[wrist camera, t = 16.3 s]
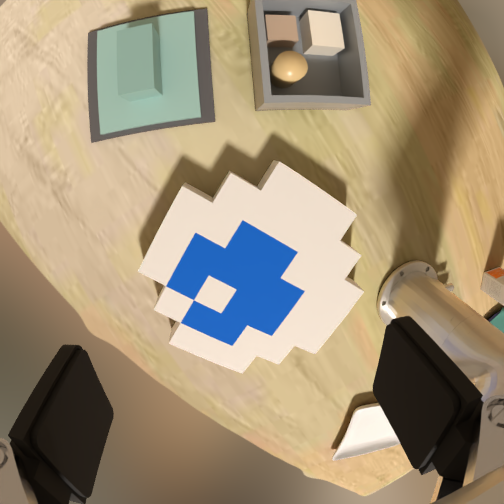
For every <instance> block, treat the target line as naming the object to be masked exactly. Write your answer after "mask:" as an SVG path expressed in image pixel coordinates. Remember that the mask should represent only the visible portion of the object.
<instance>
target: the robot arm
mask: <svg viewBox="0 0 504 504" xmlns="http://www.w3.org/2000/svg"><path fill="white" fill-rule="evenodd" d="M453 289H454V286H453V284H452V283H450V284H446V285H444V284H442V283H441V282H440V281H438V277H437V274H436V272H435V270H434V268H433V267H432V266H431V265H429V264H428V263H426V262H423V261H418V260H415V261H410V262H407V263H405V264H403V265H401V266H400V267H398V268H397V269H396V270H395V271H393V272H392V274H391V275H390V276H389V277H388V278H387V280H386V281H385V283H384V284H383V286H382V288H381V290H380V293H379V296H378V301H377V310H378V315H379V317H380V319H381V320H382V321H383V322H384V324H386V325H387V326H386V330H385V335H384V340H383V345H382V350H381V354H380V359H379V363H378V367H377V371H376V375H375V379H374V383H373V393H374V396H375V397H376V399H377V401H378V403H379V405H380V406H381V408H382V410H383V412H384V414H385V416H386V417H387V419H388V421H389V423H390V425H391V427H392V429H393V430H394V432H395V434H396V436H397V438H398V440H399V442H400V444H401V445H402V447H403V449H404V451H405V453H406V455H407V457H408V459H409V461H410V463H411V465H412V466H413V468H415V469H419V471H420V473H421V475H423V474H425V473H428V472H430V471H432V470H434V469H436V470H437V472H438V474H439V476H438V480H437V483H436V486H435V490H434V493H433V496H432V499H431V502H430V504H504V333H503V332H502V331H500V330H499V329H498V328H496V327H495V326H494V325H492V324H491V323H490V322H489V321H487V320H486V319H485V318H484V317H483V316H481V315H480V314H479V313H477V312H476V311H475V310H474V309H472V308H471V307H470V306H468V305H467V304H466V303H465V302H463V301H462V300H461V299H459V298H458V297H457V296H456V295H455V294H454V293H452V292H450V291H453ZM473 383H475V385H474V384H473ZM112 420H113V408H112V407H111V404H110V402H109V400H108V398H107V396H106V394H105V392H104V390H103V388H102V385H101V383H100V381H99V379H98V377H97V375H96V372H95V370H94V368H93V365H92V363H91V361H90V358H89V356H88V353H87V352H86V351H85V350H83V349H82V347H81V346H79V345H63V346H62V347H61V348H60V349H59V351H58V352H57V354H56V355H55V357H54V359H53V360H52V362H51V363H50V365H49V366H48V368H47V369H46V371H45V372H44V374H43V376H42V377H41V379H40V380H39V382H38V384H37V385H36V387H35V388H34V390H33V392H32V394H31V395H30V397H29V399H28V401H27V402H26V404H25V406H24V407H23V409H22V411H21V412H20V414H19V416H18V418H17V419H16V421H15V423H14V425H13V427H12V429H11V431H10V433H9V434H8V436H9V437H10V438H11V442H10V444H9V443H8V442H7V441H6V440H5V439H3V438H0V504H69V500H70V501H73V502H77V503H81V504H85V503H86V498H88V497H90V496H91V494H92V490H93V486H94V482H95V478H96V475H97V470H98V467H99V464H100V460H101V456H102V453H103V449H104V446H105V443H106V439H107V436H108V432H109V429H110V426H111V423H112Z"/></svg>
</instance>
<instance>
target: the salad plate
mask: <svg viewBox="0 0 504 504" xmlns="http://www.w3.org/2000/svg"><path fill="white" fill-rule="evenodd" d="M398 444H400V442H399V440H398V438H397V436H396V434H395V432H394V430H393V429H392V427H391V425H390V423H389V421H388V419H387V417H386V416H385V414H384V412H383V410H382V408H381V406H380V405H379V403H375V404H368V405H363V406H360V407H358V408H356V409H355V410H354V412H353V415H352V418H351V421H350V424H349V426H348V429H347V431H346V433H345V435H344V437H343V439H342V441H341V443H340V445H339V446H338V448H337V449H336V451H335V453H334V455H333V458H332V460H340V459H345V458H350V457H354V456H359V455H363V454H367V453H371V452H375V451H379V450H382V449H386V448H389V447H392V446H396V445H398Z"/></svg>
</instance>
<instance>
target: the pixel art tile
mask: <svg viewBox="0 0 504 504" xmlns="http://www.w3.org/2000/svg"><path fill="white" fill-rule="evenodd" d="M356 216H357V214H355V213H354V212H353V211H351V210H350V209H349V208H347V207H346V206H344V205H343V204H342V203H340V202H339V201H337V200H336V199H335V198H333V197H332V196H330V195H329V194H328V193H326V192H325V191H323V190H322V189H320V188H319V187H317V186H316V185H315V184H313V183H312V182H310V181H309V180H307V179H306V178H304V177H303V176H301V175H300V174H298V173H297V172H295V171H294V170H292V169H291V168H289V167H288V166H286V165H284V164H283V163H281V162H280V161H276V160H273V162H272V163H271V165H270V166H269V168H268V170H267V171H266V173H265V174H264V176H263V177H262V179H261V181H260V182H259V184H258V185H257V186H255V185H253V184H252V183H250V182H248V181H247V180H245V179H243V178H242V177H240V176H238V175H237V174H235V173H233V172H231V171H230V170H229V172H228V174H227V175H226V177H225V178H224V180H223V182H222V183H221V185H220V187H219V188H218V190H217V192H216V193H215V195H214V197H211V196H209V195H207V194H205V193H204V192H202V191H200V190H198V189H197V188H195V187H193V186H191V185H189V184H188V183H186V182H185V183H184V184H183V186H182V187H181V189H180V191H179V192H178V194H177V196H176V198H175V200H174V202H173V203H172V205H171V207H170V209H169V211H168V213H167V215H166V216H165V218H164V220H163V222H162V224H161V226H160V228H159V230H158V232H157V234H156V236H155V238H154V240H153V242H152V244H151V246H150V248H149V250H148V252H147V254H146V256H145V258H144V260H143V262H142V264H141V266H140V268H139V270H138V272H140V273H141V274H143V275H145V276H147V277H149V278H151V279H153V280H155V281H157V282H159V283H161V284H163V285H164V286H163V288H162V290H161V292H160V294H159V296H158V298H157V301H156V304H155V307H154V310H155V311H157V312H159V313H161V314H163V315H165V316H167V317H169V318H171V319H173V320H175V321H176V322H175V324H174V325H173V327H172V329H171V334H170V339H169V344H171V345H173V346H176V347H178V348H180V349H182V350H185V351H187V352H189V353H192V354H194V355H196V356H199V357H201V358H204V359H206V360H208V361H211V362H213V363H216V364H218V365H221V366H224V367H226V368H229V369H231V370H234V371H237V372H239V373H242V374H243V372H244V371H245V370H246V369H247V367H248V366H249V365H250V364H251V362H252V361H253V360H254V358H255V357H256V356H258V357H261V358H263V359H266V360H268V361H271V362H274V363H276V364H280V363H281V361H282V360H283V359H284V358H285V357H286V355H287V354H288V353H289V352H290V351H291V349H292V348H293V347H294V346H296V347H299V348H301V349H303V350H306V351H308V352H311V353H313V354H316V352H317V351H318V350H319V349H320V348H321V346H322V345H323V344H324V343H325V342H326V340H327V339H328V338H329V337H330V335H331V334H332V333H333V332H334V330H335V329H336V328H337V327H338V325H339V324H340V323H341V322H342V320H343V319H344V318H345V316H346V315H347V314H348V312H349V311H350V310H351V309H352V307H353V306H354V305H355V303H356V302H357V301H358V299H359V298H360V296H361V295H362V294H363V292H364V291H363V290H362V289H361V288H360V287H359V286H358V285H357V283H356V282H355V281H354V280H352V279H350V278H349V277H347V275H348V274H349V273H350V271H351V270H352V268H353V267H354V265H355V264H356V263H357V261H358V260H359V258H360V257H361V255H360V254H359V253H358V252H357V251H356V250H354V249H353V248H352V247H351V246H349V245H348V244H346V243H345V242H343V241H342V240H341V239H342V237H343V236H344V234H345V233H346V231H347V229H348V228H349V226H350V225H351V223H352V222H353V220H354V219H355V217H356Z"/></svg>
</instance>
